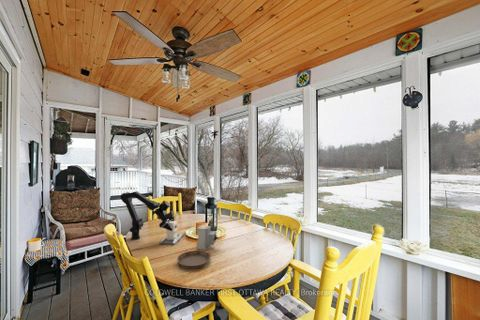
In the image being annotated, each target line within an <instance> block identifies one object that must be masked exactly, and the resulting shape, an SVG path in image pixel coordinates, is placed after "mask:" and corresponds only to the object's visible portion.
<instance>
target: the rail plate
mask: <svg viewBox="0 0 480 320" xmlns="http://www.w3.org/2000/svg"><path fill="white" fill-rule="evenodd" d="M184 236H185V235H184V233H179V234H177V238H175V239H174V240H167V236H166V237H164V238H163V239H162V240H161V241H160V242H159V245H173V246H175V245H176V244H177V243H178V242H179V241H180V240H182V239H183V237H184Z"/></svg>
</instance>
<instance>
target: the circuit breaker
mask: <svg viewBox="0 0 480 320" xmlns="http://www.w3.org/2000/svg"><path fill="white" fill-rule="evenodd" d="M196 229H197V230H196V235H197V241H196V249H197V250H206V251H207V250H208V249H209V248H211V246H215V245H214V244H215V243H216V242H217V239H218V236H217V231H215V230H213V231H212V226H211V225H201V224H200V226H198V227H197V228H196Z"/></svg>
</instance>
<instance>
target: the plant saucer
mask: <svg viewBox="0 0 480 320" xmlns="http://www.w3.org/2000/svg"><path fill="white" fill-rule="evenodd" d="M210 260H211V255H210V253H208V252H207V251H203V250H190V251H186V252H183V253H181V254H180V255H178V256H177V260H176V261H177V263H178V264H179V265H180V266H181V267H183V268H185V269H198V268H202V267H204V266H206V265H207V264H208V263H209V261H210Z"/></svg>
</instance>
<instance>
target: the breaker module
mask: <svg viewBox="0 0 480 320" xmlns="http://www.w3.org/2000/svg"><path fill="white" fill-rule="evenodd" d="M169 226H170V227H171V228H172V231H170V230H168V229H166V237H167V240H174V239H175V238H177V235H178V221H177V220H174V221H170V222H169Z"/></svg>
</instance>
